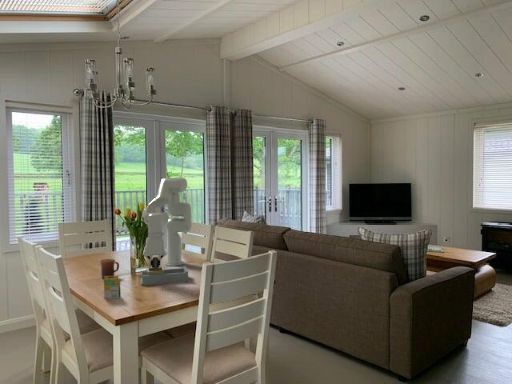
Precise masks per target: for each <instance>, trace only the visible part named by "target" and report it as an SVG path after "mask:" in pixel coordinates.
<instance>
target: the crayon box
mask: <svg viewBox="0 0 512 384" xmlns="http://www.w3.org/2000/svg"><path fill="white" fill-rule="evenodd" d="M108 277H112V278H108ZM103 294H104V296H103V298H104V300H107V299H109V300H111V299H112V300H113V299H114V300H115V299H117V300H118V299H120V298H121V278H120V277H119V275H114V276H104V278H103Z"/></svg>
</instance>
